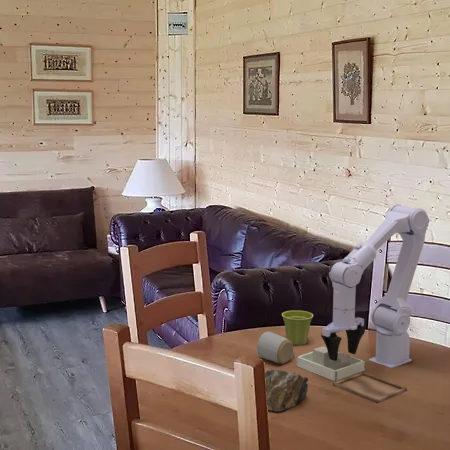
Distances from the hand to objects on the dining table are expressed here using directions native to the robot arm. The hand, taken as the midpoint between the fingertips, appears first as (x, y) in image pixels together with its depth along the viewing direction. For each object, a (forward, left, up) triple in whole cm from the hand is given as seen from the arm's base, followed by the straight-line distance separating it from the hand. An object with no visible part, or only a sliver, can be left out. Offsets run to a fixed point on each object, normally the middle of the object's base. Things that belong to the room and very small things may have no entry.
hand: (342, 356), depth 189 cm
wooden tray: (+3, +12, -5) cm, 13 cm away
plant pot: (-8, -25, -5) cm, 27 cm away
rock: (+26, +2, -5) cm, 26 cm away
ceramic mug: (+6, -19, -5) cm, 20 cm away
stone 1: (+1, -6, -4) cm, 8 cm away
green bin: (+1, -4, -5) cm, 6 cm away
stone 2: (+1, 0, -4) cm, 4 cm away
